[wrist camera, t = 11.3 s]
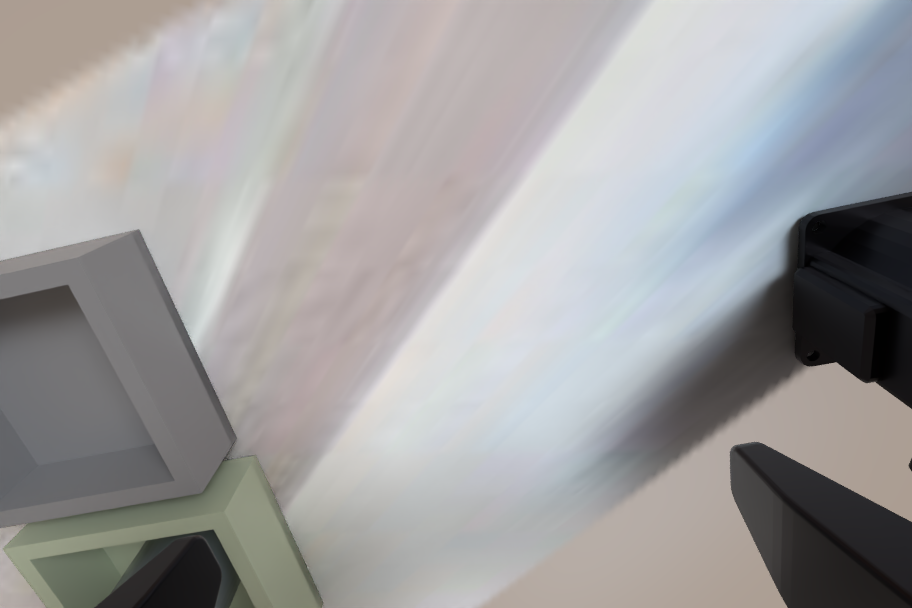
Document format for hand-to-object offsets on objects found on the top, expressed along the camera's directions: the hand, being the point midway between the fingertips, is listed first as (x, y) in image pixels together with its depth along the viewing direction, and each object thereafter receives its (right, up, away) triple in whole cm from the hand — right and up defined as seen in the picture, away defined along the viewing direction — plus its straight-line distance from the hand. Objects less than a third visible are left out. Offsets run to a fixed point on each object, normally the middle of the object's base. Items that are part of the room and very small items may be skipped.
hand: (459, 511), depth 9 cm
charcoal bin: (-16, +1, +14) cm, 21 cm away
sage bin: (-13, -9, +18) cm, 24 cm away
